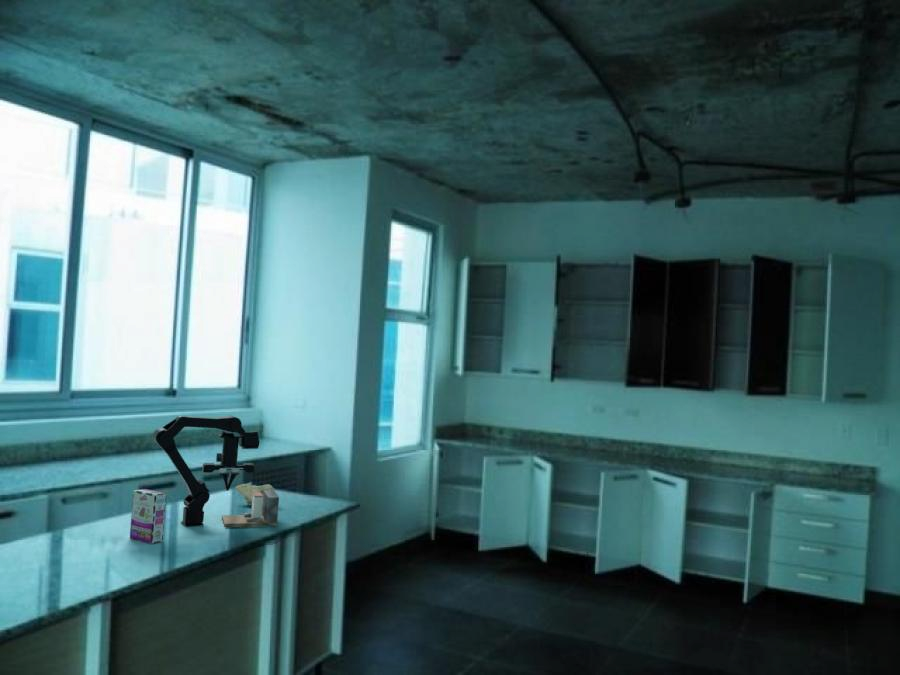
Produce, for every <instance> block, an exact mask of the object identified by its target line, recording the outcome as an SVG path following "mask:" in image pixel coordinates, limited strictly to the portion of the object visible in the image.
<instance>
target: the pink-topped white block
mask: <svg viewBox="0 0 900 675" xmlns="http://www.w3.org/2000/svg"><path fill="white" fill-rule="evenodd" d="M262 501H263V495H262V494H261V493H253V497H252V504H251V512H250V513H251V517H252V518H260V520H261V515H262Z"/></svg>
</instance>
